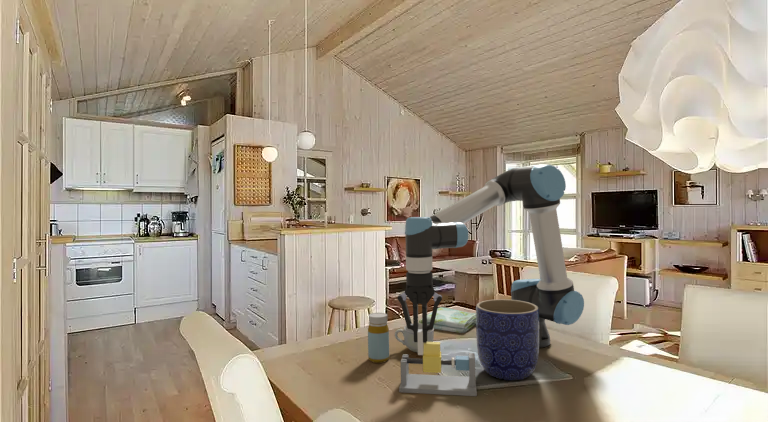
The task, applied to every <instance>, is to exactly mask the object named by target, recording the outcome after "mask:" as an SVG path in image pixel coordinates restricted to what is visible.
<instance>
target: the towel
mask: <svg viewBox="0 0 768 422" xmlns="http://www.w3.org/2000/svg"><path fill="white" fill-rule="evenodd" d="M431 316H432V311H431V312H429V313H427V325H429V324H430V320H431ZM418 323H421V324H422V318H421V319H418ZM474 326H476V312H467V311H463V310H458V309H454V308H449V307H438V309H437V313H436V318H435V322H434V326H433V328H434V330H439V331H445V332H453V333H458V334H459V333H460V334H463V333H466V332H467V331H469V330H470V329H471V328H473V327H474Z"/></svg>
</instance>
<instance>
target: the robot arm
mask: <svg viewBox="0 0 768 422" xmlns="http://www.w3.org/2000/svg"><path fill="white" fill-rule="evenodd" d="M566 187H567V186H566V180H565V177H564V174H563V173H562V172H561V170H560V169H558V168H557V167H556V166H554V165H551V164H534V165H527V166H517V167H513V168H511V169H508V170H506V171H504V172H502V173H500V174H499V175H497V176H495V177H493V178H492V179H490V180H488V181H486V182H485V184H484V186H483V187H481V188H479V189H478V190H476V191H474V192H472V193H470V194H469V195H467V196H464V198H462V199H460V200H458V201H456V202H454V203H452V204H451V205H449V206H447V207H446V208H444V209H441V210H439V211H437V213H435V214H433V215H430V216H411V217H407V218H406V220H405V225H404V226H405V227H404V229H405V230H404V235H405V270H406V274H405V279H406V281H405V284H406V286H405V289H404V292H402V293H400V294H398V296H397V300H398V302H399V304H400V306H401V309H402V313H403V317H404V320H405V326H406V325H407V328H408V329H411V330H413V332H414V342H418V352H417V355H418V356H423V353H424V343H426V342H427V331H428V330H432V329H433V326H434V322H435V318H436V313H437V309H438V308H439V304H440V303H441V302H442V300H443V295H442V294H438V293H437V292H436V290H435V288H434V283H433V282H434V281H433V279H434V275H433V274H434V273H433V272H432V271H433V269H434V268H433V250H438V249H457V248H463V247H464V246H466V245H467V243H468V241H469V229H468V227H467V226H466V223H468V222H469V221H471V220H473V219H475V218H476V217H478V216H479V215H481V214H483V213H485V212H486V211H489V210H491V208H494V207H500V206H503V205H504V204H507V203H509V202H510V203H511V202H519V201H520V202H522V206H523V207H522V208H523V209H524V210H525V211H527V212H528V214H529V220H530V226H531V231H532V238H533V243H534V244H533V245H534V250H535V254H536V255H535V256H536V262H537V267H538V272H539V273H538V274H539V278H527V279H525V278H524V279H517V280H514V281H513V282H511V290H510V295H511V296H510V297H511V298H510V300H518V301H524V302H529V303H532V304H534V305H536V306H537V307H538V309H539V349H540V348H546V347H549V346H550V345H551V335H550V333H549V329H548V327H547V324H546V321H550V322H553V323H555V324H558V325H563V326H564V325H565V326H570V325H573V324H575V323H576V322H577V321H578V320H580V318H581V316H582V314H583V311H584V308H585V299H584V297H583V295H582V294H581V293H580V292H579V291H577V290H575V286H574V282H573V280H572V279H570V278H568V275H567V274H568V273H567V268H566V262H565V256H564V250H563V248H564V247H563V243H562V236H561V231H560V223H559V218H558V211H557V208H558V207H559V206H560V204H561V199H562V197H564V195H565V191H566V189H567V188H566ZM407 298H408V299H409V301H410V302H411V304H412V319H411V315H410V311H409V307H408V304H407ZM432 298H433V301H434V303H433V306H432V307H433V308H432V311H431V312H432V316H431V320H430V324H429V325H427V315H428V303H429V302H430V300H431V299H432ZM419 305H421V319H422V329H418V327H419V326H418V323H419ZM412 321H413V323H412Z"/></svg>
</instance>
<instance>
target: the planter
mask: <svg viewBox="0 0 768 422" xmlns="http://www.w3.org/2000/svg"><path fill="white" fill-rule="evenodd" d="M475 305H476V306H475V314H476V324H475V331H476V332H475V334H476V337H475V340H476V349H477V356H478V361H479V363H480V365H481V367H482V369H483V370H484V371H485V372H486V374H488V375H489V376H491V377H493V378H495V377H496V378H495V379H498V378H499V380H502V379H504V380H503V381H519V380H524V379H527V378H528V377H530V376H531V375H532V374H533V372H534V371H535V369H536V368H537V365H538V361H539V353H540V348H539V309H538V307H537V306H536V305H534V304H532V303H529V302H524V301H518V300H511V299H507V298H506V299H505V298H504V299H501V298H499V299H488V300H483V301H479V302H477V304H475Z"/></svg>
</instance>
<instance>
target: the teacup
mask: <svg viewBox="0 0 768 422" xmlns="http://www.w3.org/2000/svg"><path fill="white" fill-rule="evenodd" d="M418 326H419V327H418V329H422V324H421V323H419V322H418ZM434 331H435V329H434V328H433V329H432V330H428V331H427V342H434ZM400 333H401V334H402V336H403V339H401V338H399V336H398V335H399V334H400ZM394 337H395V339H396V340H397V342H398V343H401V344H402V345H403V346H405V347H406V348H408V350H409V351H411V352H413V353H418V342H414V332H413V330H411V329H408V328H407V325H406V324H405V326H403V328H398V329H396V331H395V332H394Z"/></svg>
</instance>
